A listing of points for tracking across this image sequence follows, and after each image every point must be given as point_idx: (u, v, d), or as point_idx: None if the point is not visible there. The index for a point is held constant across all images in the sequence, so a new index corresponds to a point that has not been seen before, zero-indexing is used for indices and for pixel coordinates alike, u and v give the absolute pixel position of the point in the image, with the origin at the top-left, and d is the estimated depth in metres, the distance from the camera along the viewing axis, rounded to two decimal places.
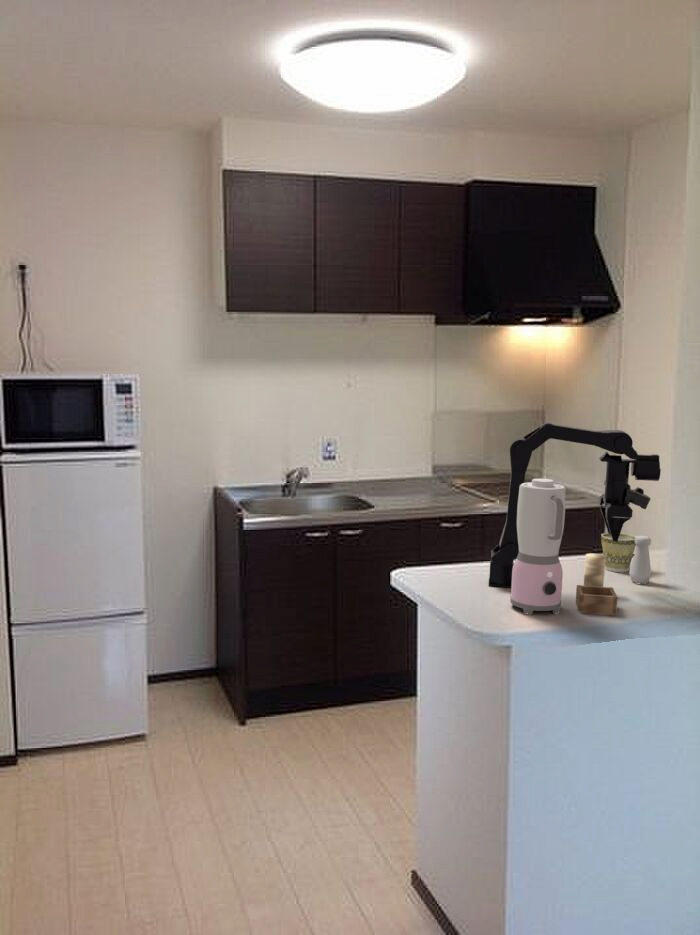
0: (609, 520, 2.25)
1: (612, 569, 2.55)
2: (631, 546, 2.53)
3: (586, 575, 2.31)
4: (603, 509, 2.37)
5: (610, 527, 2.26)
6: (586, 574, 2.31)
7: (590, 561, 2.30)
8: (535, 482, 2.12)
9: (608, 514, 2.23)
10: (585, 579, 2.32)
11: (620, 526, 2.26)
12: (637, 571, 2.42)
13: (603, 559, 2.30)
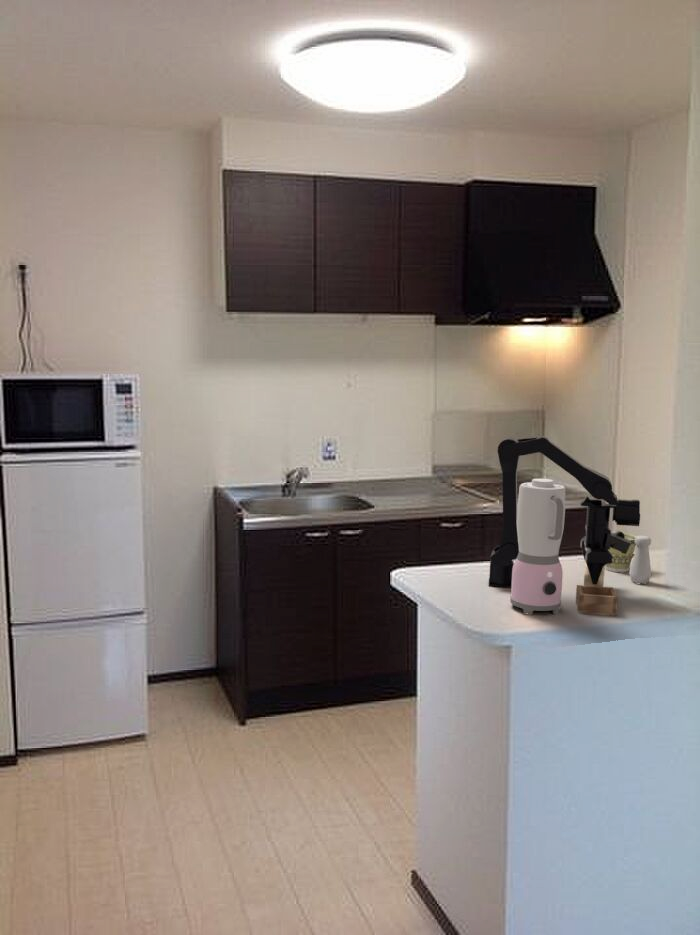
0: (588, 563, 2.28)
1: (612, 569, 2.55)
2: (631, 546, 2.53)
3: (586, 575, 2.31)
4: (585, 554, 2.35)
5: (590, 570, 2.28)
6: (586, 574, 2.31)
7: None
8: (535, 482, 2.12)
9: (588, 560, 2.23)
10: (585, 579, 2.32)
11: (599, 569, 2.28)
12: (637, 571, 2.42)
13: None
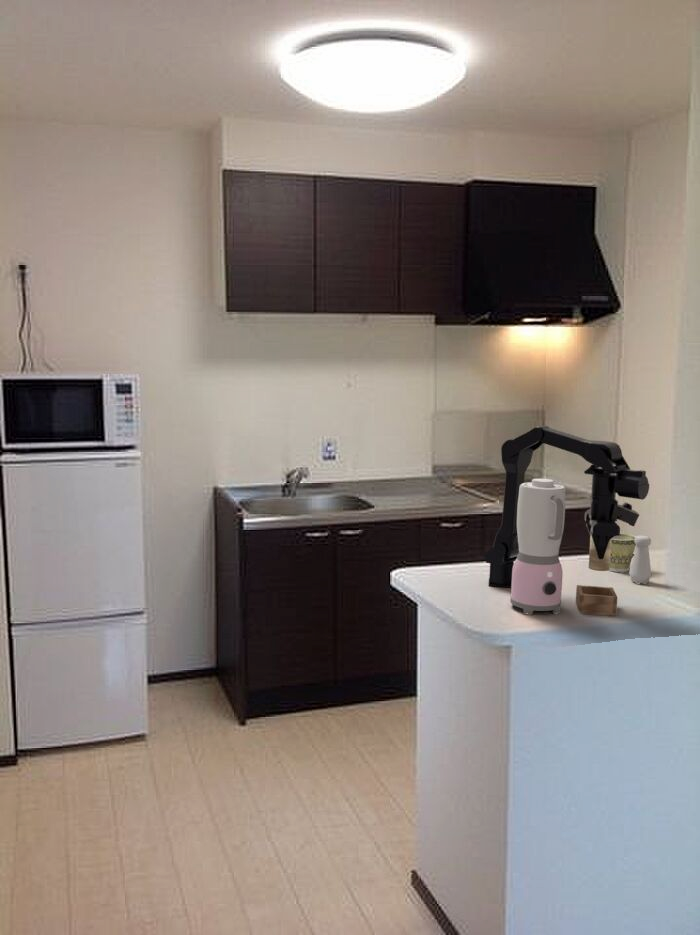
0: (594, 536, 2.13)
1: (612, 569, 2.55)
2: (631, 546, 2.53)
3: (592, 549, 2.16)
4: (590, 527, 2.20)
5: (595, 544, 2.13)
6: (592, 548, 2.16)
7: None
8: (535, 482, 2.12)
9: (594, 532, 2.08)
10: (591, 554, 2.17)
11: (606, 543, 2.13)
12: (637, 571, 2.42)
13: None
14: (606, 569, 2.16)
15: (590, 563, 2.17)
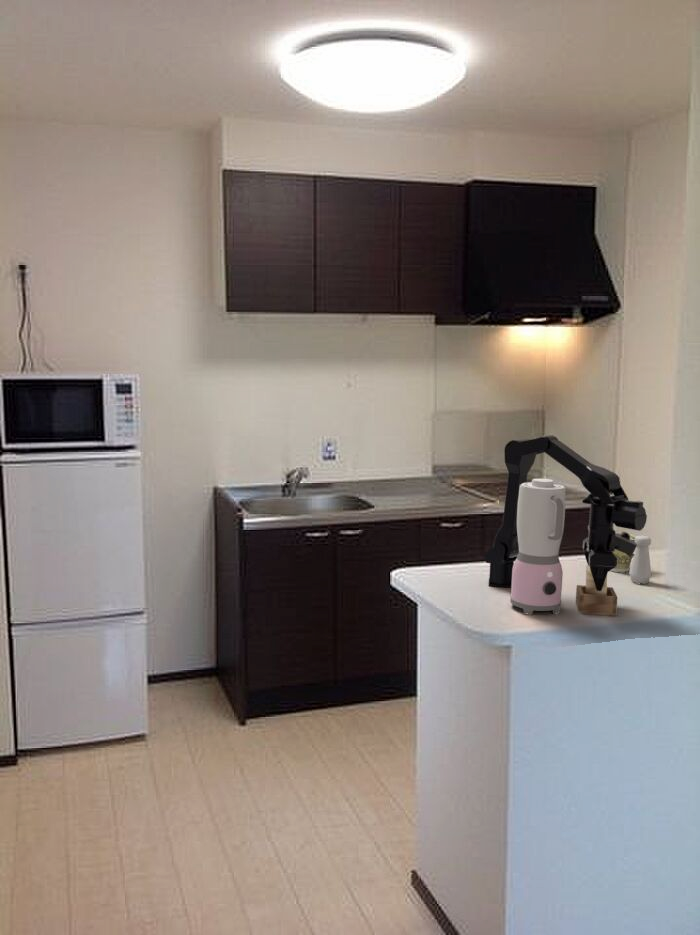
0: (592, 568, 2.11)
1: (612, 569, 2.55)
2: None
3: (587, 588, 2.17)
4: (587, 554, 2.22)
5: (593, 576, 2.12)
6: (587, 587, 2.17)
7: None
8: (535, 482, 2.12)
9: (591, 563, 2.08)
10: (587, 592, 2.17)
11: (604, 575, 2.11)
12: (637, 571, 2.42)
13: None
14: None
15: None
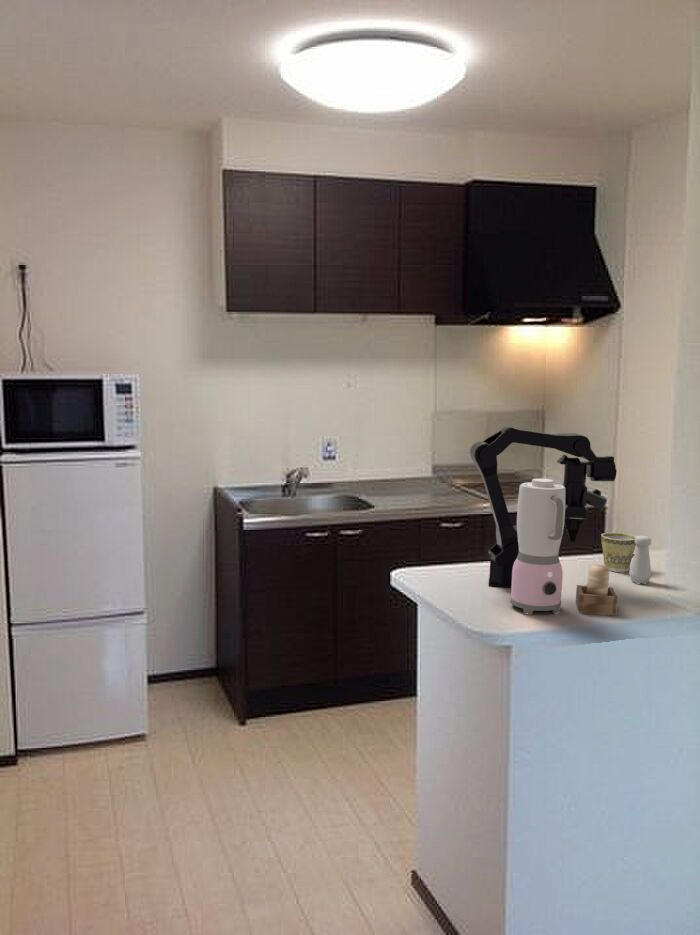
0: (566, 521, 2.31)
1: (612, 569, 2.55)
2: (631, 546, 2.53)
3: (589, 587, 2.17)
4: None
5: (567, 528, 2.32)
6: (589, 586, 2.17)
7: (594, 573, 2.15)
8: (535, 482, 2.12)
9: (565, 515, 2.28)
10: (588, 592, 2.17)
11: (577, 527, 2.31)
12: (637, 571, 2.42)
13: (607, 571, 2.15)
14: None
15: None
